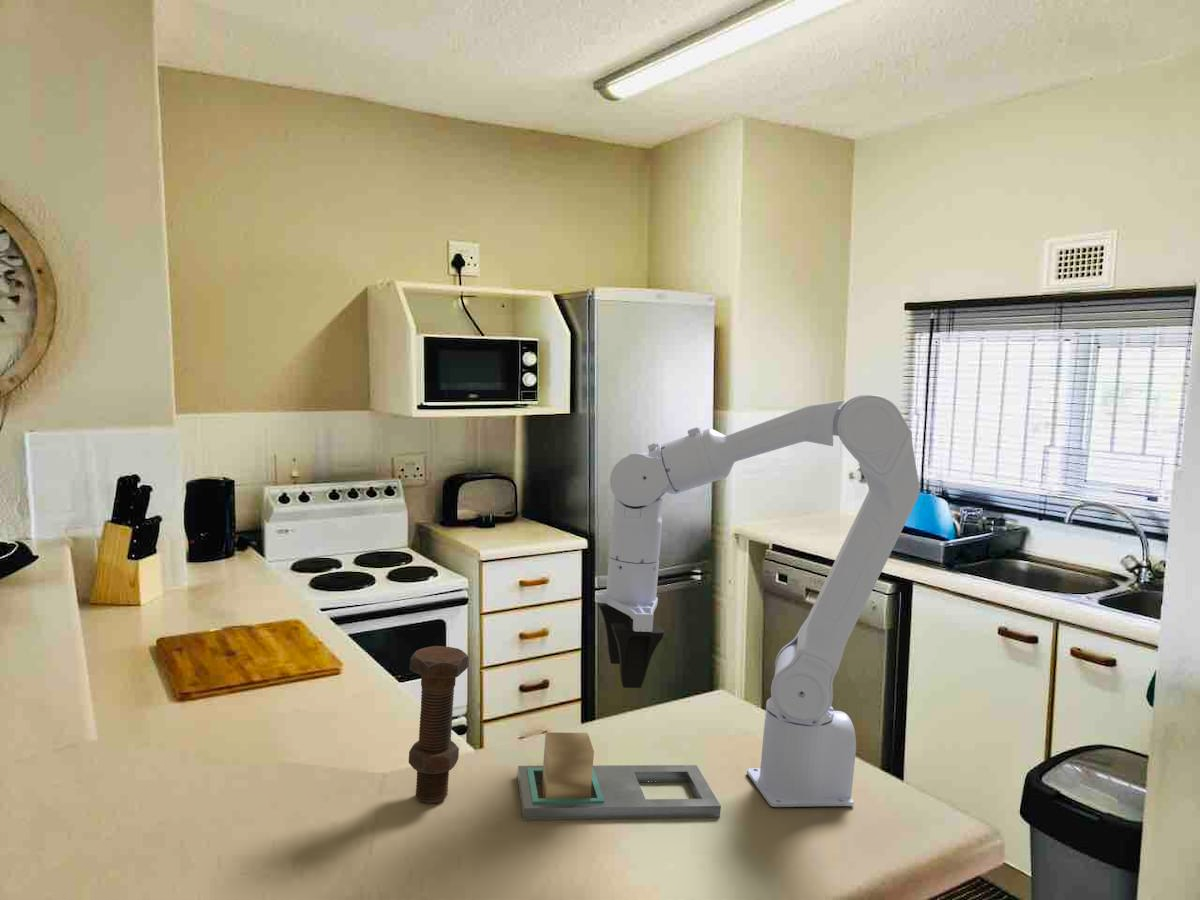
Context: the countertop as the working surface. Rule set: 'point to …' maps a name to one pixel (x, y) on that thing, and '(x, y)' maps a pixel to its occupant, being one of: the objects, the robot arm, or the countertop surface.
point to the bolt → (435, 719)
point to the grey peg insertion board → (620, 794)
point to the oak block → (567, 765)
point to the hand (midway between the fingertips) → (625, 674)
